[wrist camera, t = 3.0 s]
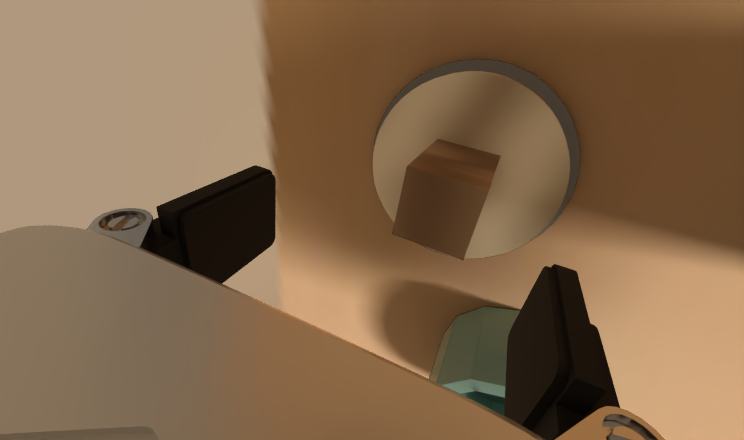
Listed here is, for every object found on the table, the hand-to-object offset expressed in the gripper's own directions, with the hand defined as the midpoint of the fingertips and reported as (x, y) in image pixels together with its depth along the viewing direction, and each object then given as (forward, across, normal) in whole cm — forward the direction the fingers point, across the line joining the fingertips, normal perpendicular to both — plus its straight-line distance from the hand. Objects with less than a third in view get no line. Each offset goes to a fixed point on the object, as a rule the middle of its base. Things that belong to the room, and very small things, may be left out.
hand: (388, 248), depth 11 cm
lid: (+9, -1, 0) cm, 9 cm away
